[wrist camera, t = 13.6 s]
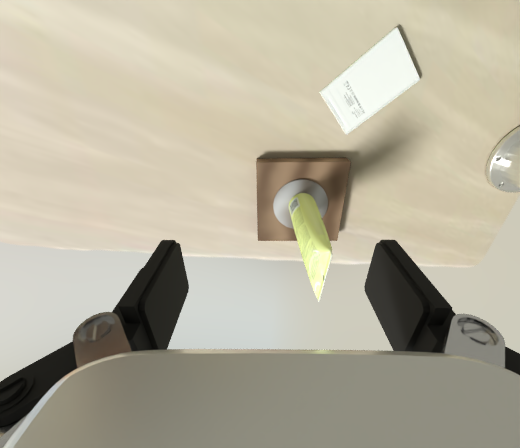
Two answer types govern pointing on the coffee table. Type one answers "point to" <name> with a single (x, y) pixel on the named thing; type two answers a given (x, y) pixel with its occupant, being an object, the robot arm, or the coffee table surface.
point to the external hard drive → (371, 82)
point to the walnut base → (292, 183)
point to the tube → (311, 239)
